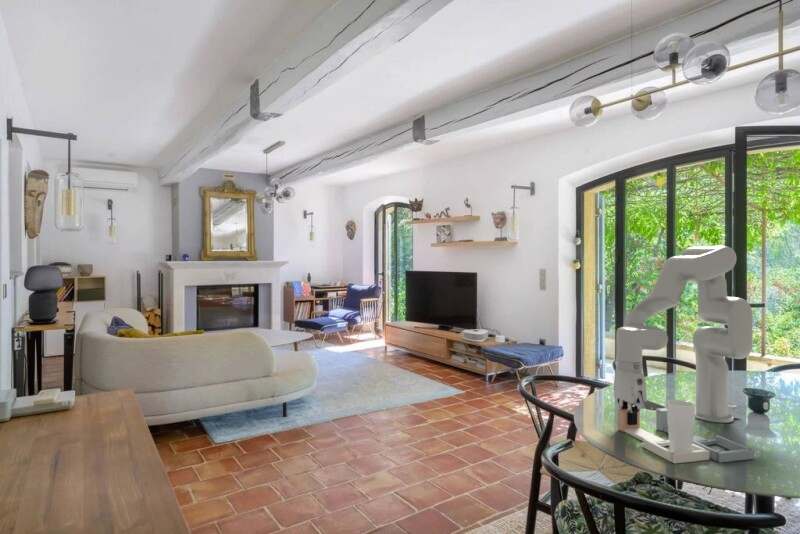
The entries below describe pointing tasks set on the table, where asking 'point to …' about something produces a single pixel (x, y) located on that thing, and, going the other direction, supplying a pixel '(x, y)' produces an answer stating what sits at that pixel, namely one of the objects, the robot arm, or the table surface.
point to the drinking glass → (680, 425)
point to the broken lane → (734, 454)
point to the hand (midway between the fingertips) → (628, 422)
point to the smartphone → (652, 405)
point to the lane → (659, 442)
